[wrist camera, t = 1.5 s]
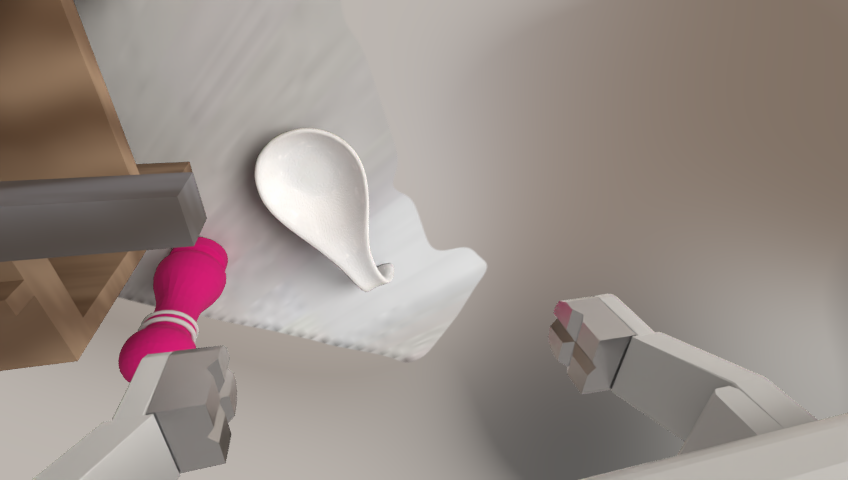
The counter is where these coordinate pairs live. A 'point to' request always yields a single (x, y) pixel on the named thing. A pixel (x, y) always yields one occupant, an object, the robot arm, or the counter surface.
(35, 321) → the walnut shelf
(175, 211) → the block
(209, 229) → the counter surface
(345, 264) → the spoon rest
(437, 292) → the counter surface
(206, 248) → the pepper mill
